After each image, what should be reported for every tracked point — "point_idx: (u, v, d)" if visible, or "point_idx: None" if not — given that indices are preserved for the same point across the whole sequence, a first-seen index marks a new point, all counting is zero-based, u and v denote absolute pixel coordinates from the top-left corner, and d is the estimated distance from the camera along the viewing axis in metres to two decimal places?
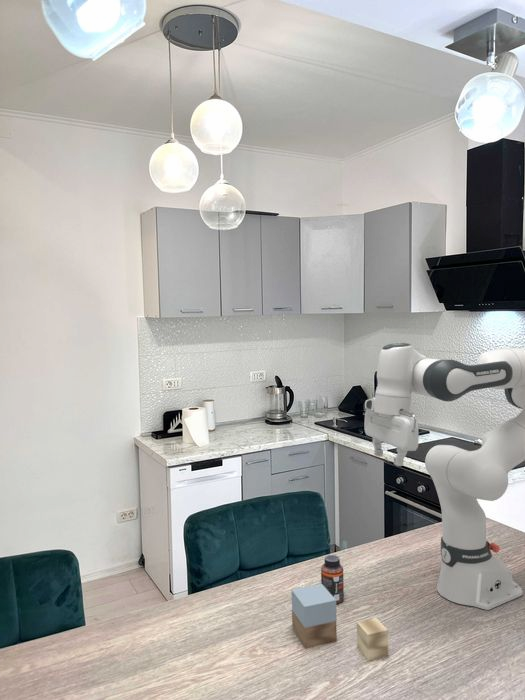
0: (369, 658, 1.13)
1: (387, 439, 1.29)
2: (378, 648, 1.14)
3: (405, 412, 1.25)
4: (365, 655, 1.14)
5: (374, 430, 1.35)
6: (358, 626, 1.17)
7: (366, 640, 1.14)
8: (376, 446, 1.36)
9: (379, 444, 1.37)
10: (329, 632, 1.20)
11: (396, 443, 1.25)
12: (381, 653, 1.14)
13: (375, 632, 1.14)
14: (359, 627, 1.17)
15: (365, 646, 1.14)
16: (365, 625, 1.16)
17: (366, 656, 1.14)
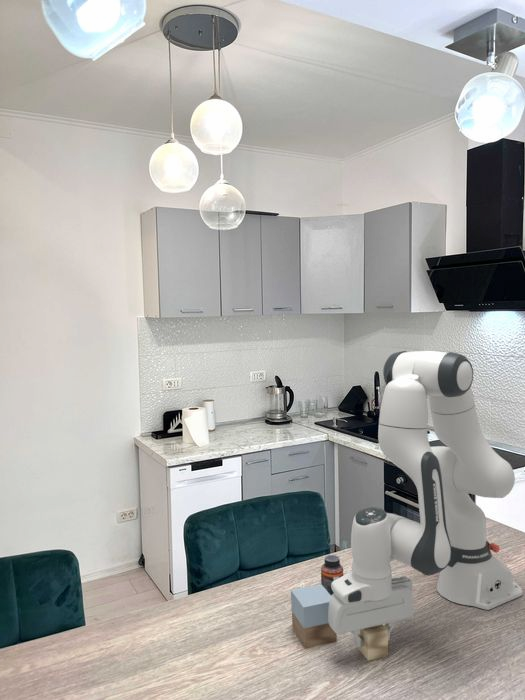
0: (369, 658, 1.13)
1: (383, 620, 1.15)
2: (378, 647, 1.14)
3: (398, 580, 1.17)
4: (365, 655, 1.14)
5: (357, 621, 1.13)
6: None
7: (366, 640, 1.14)
8: (358, 636, 1.15)
9: None
10: (329, 632, 1.20)
11: (399, 617, 1.16)
12: (381, 653, 1.14)
13: (375, 632, 1.14)
14: None
15: (365, 646, 1.14)
16: None
17: (366, 656, 1.14)
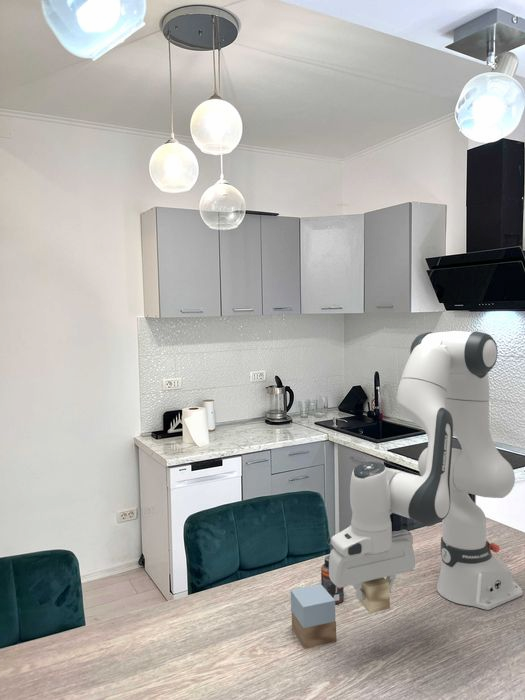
0: (371, 610, 1.13)
1: (384, 572, 1.15)
2: (379, 600, 1.14)
3: (399, 533, 1.17)
4: (367, 608, 1.14)
5: (357, 574, 1.13)
6: None
7: (367, 593, 1.14)
8: (360, 589, 1.14)
9: None
10: (328, 632, 1.20)
11: (400, 570, 1.16)
12: (383, 605, 1.14)
13: (376, 585, 1.14)
14: None
15: (366, 599, 1.14)
16: None
17: (368, 609, 1.14)
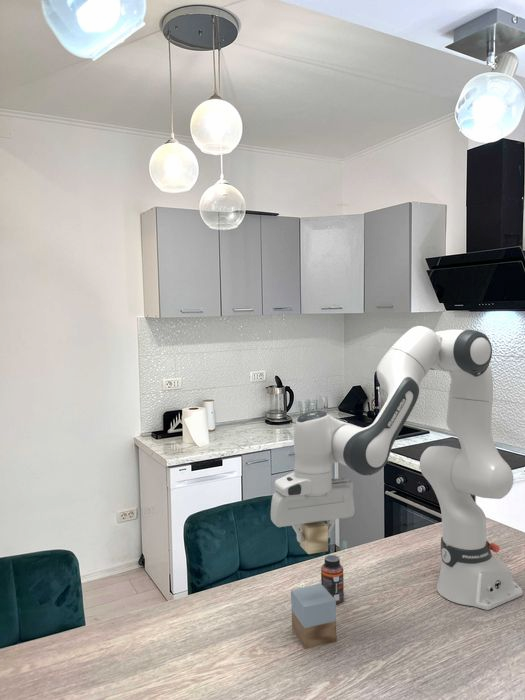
0: (309, 551, 1.18)
1: (323, 516, 1.20)
2: (318, 542, 1.19)
3: (339, 480, 1.22)
4: (306, 549, 1.19)
5: (297, 516, 1.18)
6: None
7: (306, 534, 1.19)
8: (300, 532, 1.20)
9: None
10: (329, 632, 1.20)
11: (339, 515, 1.21)
12: (321, 547, 1.19)
13: (315, 527, 1.19)
14: (301, 524, 1.21)
15: (305, 541, 1.19)
16: None
17: (307, 550, 1.19)
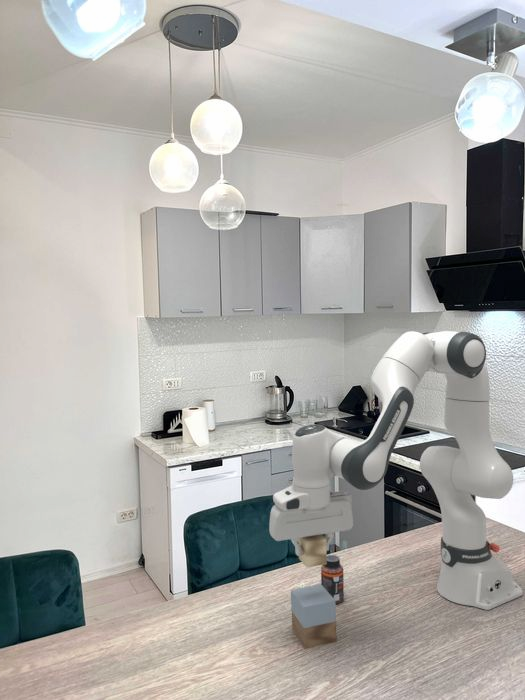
0: (308, 565, 1.19)
1: (322, 529, 1.20)
2: (316, 555, 1.19)
3: (338, 493, 1.23)
4: (304, 563, 1.20)
5: (296, 529, 1.18)
6: None
7: (305, 548, 1.19)
8: (298, 545, 1.20)
9: None
10: (329, 632, 1.20)
11: (338, 528, 1.22)
12: (320, 561, 1.20)
13: (314, 540, 1.19)
14: None
15: (304, 554, 1.20)
16: None
17: (305, 563, 1.19)
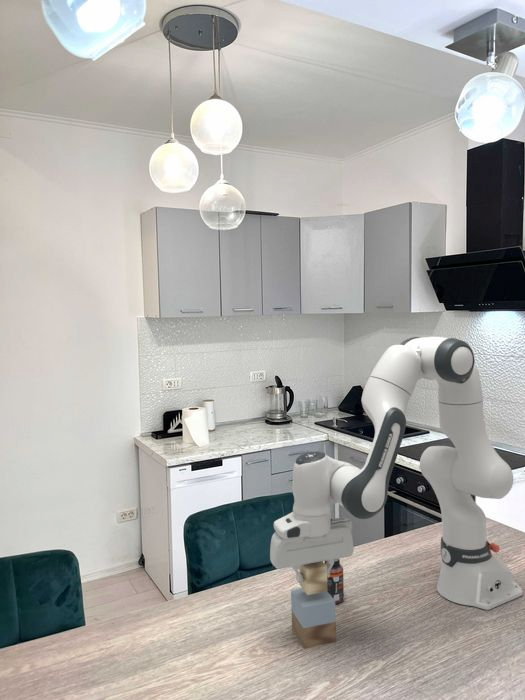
0: (309, 592, 1.19)
1: (322, 557, 1.21)
2: (317, 583, 1.20)
3: (338, 520, 1.23)
4: (305, 590, 1.20)
5: (296, 557, 1.19)
6: None
7: (306, 575, 1.20)
8: (299, 572, 1.21)
9: None
10: (328, 632, 1.20)
11: (338, 555, 1.22)
12: (320, 588, 1.20)
13: (314, 568, 1.20)
14: None
15: (305, 581, 1.20)
16: None
17: (306, 590, 1.20)
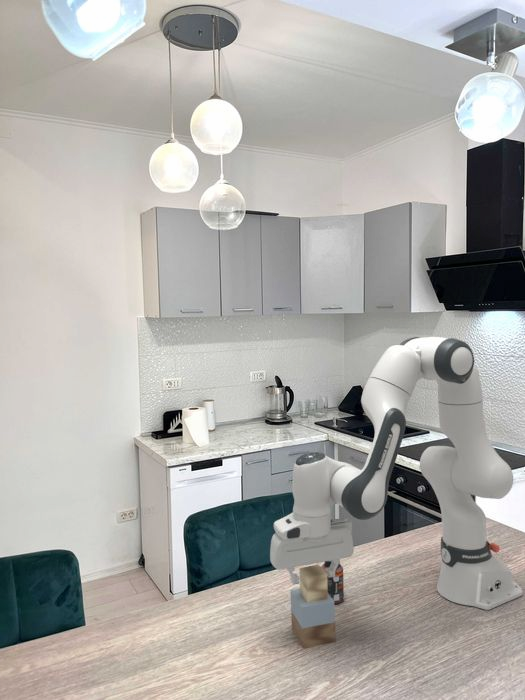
0: (309, 600, 1.19)
1: (322, 557, 1.21)
2: (317, 590, 1.20)
3: (338, 521, 1.23)
4: (305, 598, 1.20)
5: (296, 558, 1.19)
6: (300, 571, 1.23)
7: (306, 583, 1.20)
8: (293, 574, 1.20)
9: None
10: (327, 632, 1.20)
11: (338, 556, 1.22)
12: (321, 596, 1.20)
13: (315, 576, 1.20)
14: (301, 572, 1.22)
15: (305, 589, 1.20)
16: (306, 570, 1.22)
17: (306, 598, 1.20)
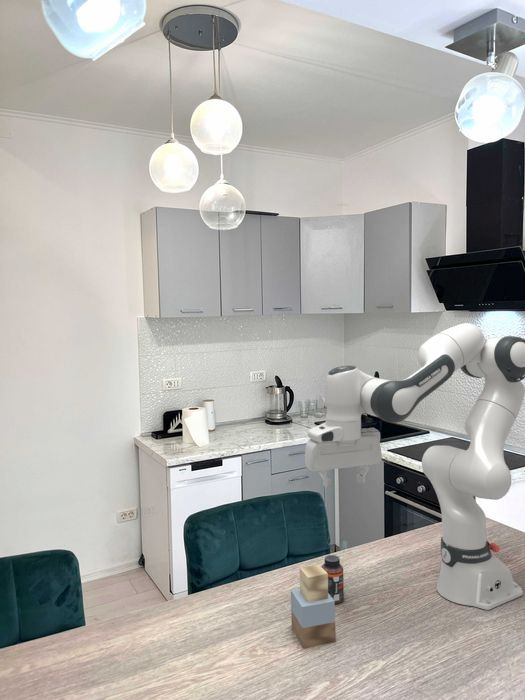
0: (310, 600, 1.19)
1: (353, 462, 1.30)
2: (318, 590, 1.20)
3: (367, 430, 1.32)
4: (306, 597, 1.20)
5: (329, 461, 1.28)
6: (300, 571, 1.23)
7: (307, 583, 1.20)
8: None
9: None
10: (327, 632, 1.20)
11: (368, 461, 1.31)
12: (321, 595, 1.20)
13: (315, 575, 1.20)
14: (301, 572, 1.22)
15: (306, 589, 1.20)
16: (307, 570, 1.22)
17: (307, 598, 1.20)
